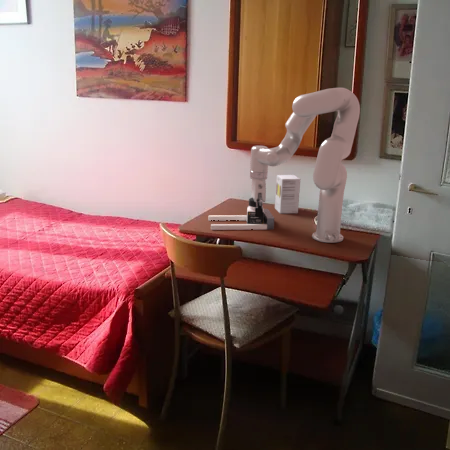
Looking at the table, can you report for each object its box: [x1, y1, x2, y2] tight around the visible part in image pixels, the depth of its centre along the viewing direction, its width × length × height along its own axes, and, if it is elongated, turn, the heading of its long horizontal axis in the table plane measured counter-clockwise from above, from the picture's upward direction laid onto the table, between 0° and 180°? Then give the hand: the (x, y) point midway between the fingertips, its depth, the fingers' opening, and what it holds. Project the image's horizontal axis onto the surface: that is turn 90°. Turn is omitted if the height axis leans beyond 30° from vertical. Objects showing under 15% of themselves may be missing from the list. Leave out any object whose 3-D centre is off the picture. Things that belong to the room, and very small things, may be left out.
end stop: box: [263, 208, 275, 230], centre depth 236 cm, size 15×3×5 cm, turn 6°
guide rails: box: [207, 214, 268, 231], centre depth 235 cm, size 15×24×2 cm, turn 96°
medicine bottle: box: [246, 197, 265, 224], centre depth 234 cm, size 7×7×12 cm
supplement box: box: [274, 174, 301, 214], centre depth 257 cm, size 10×9×17 cm
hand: (256, 213), depth 235 cm, fingers open, 8 cm apart
